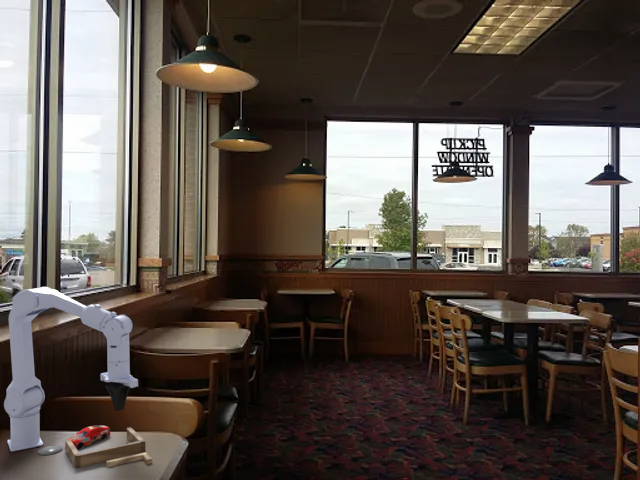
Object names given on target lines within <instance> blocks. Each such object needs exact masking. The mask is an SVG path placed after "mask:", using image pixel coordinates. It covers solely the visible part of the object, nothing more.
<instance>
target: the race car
mask: <svg viewBox="0 0 640 480" xmlns="http://www.w3.org/2000/svg"><path fill="white" fill-rule="evenodd" d="M110 429H111V428H110V426H107V425H91V426H86V427H84V428H82V429H81V430H79V431H77V432H76V434H74V435H72V436H70V437H69V438H67V439H66V440H71V441H72V443H73V444H74V446H75V447H76V449H77V450H80V449H82V448H84V447H86V446H89V445H92V444H95V443H98V442H99V441H103V440H106V439H107V438H109V437H110V436H111V430H110ZM64 446H65V448H66V445H65V444H64Z"/></svg>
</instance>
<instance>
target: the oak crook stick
mask: <svg viewBox="0 0 640 480" xmlns="http://www.w3.org/2000/svg"><path fill="white" fill-rule="evenodd" d="M141 460H143V461H144V462H145V463H146V464H147V465H150V464H153V458H152V457H151V455H149V454H148V453H147V452H146V451H145V453H141V454H136V455H132V456H127V457H123V458H118V459H114V460H109V461H106V462H105V465H106V467H107V468H109V467H114V466H119V465H122V464H127V463H132V462H137V461H141Z"/></svg>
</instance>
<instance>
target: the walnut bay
mask: <svg viewBox="0 0 640 480" xmlns="http://www.w3.org/2000/svg"><path fill="white" fill-rule="evenodd" d="M126 439H127V440H128V441H129V442H128V443H124V444H120V445H114V446H110V447H105V448H101V449H96V450H91V451H86V452H81V453H80V452H79V449H76V447H75V446H74V444H73V443H72V441H71V440H67V439H65V443H64V446H65V445H66V447H65V453H66V455H67V456H68V458H69V459H70V461H71V463H72V464H73V467H74V468H75V469H79V468H84V467H87V466H92V465H97V464H101V463H106V461H109V460H114V459H118V458H123V457H127V456H132V455H136V454H141V453H145V452H146V440H144V438H143V437H142V436H140V435H139V434H138V433H137V432H136V431H135V430H134V429H133V428H132V427H131V426H130V427H126Z"/></svg>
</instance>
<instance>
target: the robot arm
mask: <svg viewBox="0 0 640 480" xmlns="http://www.w3.org/2000/svg"><path fill="white" fill-rule="evenodd" d="M52 308H55V309H57V310H60V311H63V312H66V313H67V314H70V315H72V316H73V315H74V316H76V317H78V318H80V320H81V323H82V324H83V325H85V326H88V327H90V328H92V329H95V330H97V331H98V332H102V333H103V336H104V337H105V338H106V343H107V344H106V346H107V347H106V349H107V350H106V351H107V372H102V373H100V381H102V382H105V383H109V384H106V385H105V389H106V390H107V392H108V395H109V396H110V399H111V401H112V405H113V411H116V412H119V411H122V410H124V409H125V406H126V401H127V398H128V396H129V392H131V391H130V390H131V389H134V388H136V387H139V379H137V378H135V377H133V375H131V370H130V369H131V367H130V365H131V364H130V360H131V359H130V358H131V357H130V333H131V332H132V330H133V321H132V320H131V318H130V317H128V316H127V315H126V314H119V315H117V312H115V311H109V310H107V309H104V308H102V305H101V304H98V303H97V304H96V303H95V304H89V305H87V306H86V305H85V304H83V303H80V302H79V301H77V300H75V299H73V298H71V297H69V296H67V295H65V294H63V293H61V292H59V290H57V289H54V288H51V287H49V286H41V287H36V288H29V289H27V288H26V289H21V290H20V291H19V292H17V293H16V294H15V295H14V296H13V297H12V306H11V309H10V312H9V315H8V328H9V329H8V331H9V342H10V343H9V344H10V357H11V374H12V380H11V382H10V384H9V385H8V387H7V388H6V394H5V395H6V396H5V399H4V402H3V407H4V408H3V409H4V410H5V412H6V413H7V414H8V417H9V418H10V420H9V421H10V439H7V445H8V449H9V451H10V452H16V451H21V450H26V449H32V448H36V447H42V446H44V442H43V440H42V439H41V437H40V436H41V433H40V432H41V431H40V422H41V421H40V419H41V418H40V410H41V406H42V404H43V403H44V402H45V399H46V398H45V397H46V396H45V391H44V389H43V388H42V384H41V383H42V382H41V380H40V379H38V378H37V377H36V376H35V375H36V373H35V362H34V361H35V358H34V356H35V355H34V345H33V344H34V343H33V331H32V330H33V328H32V321H33V320H34V319H35V318H36V317H37V316H38V315H40V313H42V312H44V311H46V310H48V309H52Z"/></svg>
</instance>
